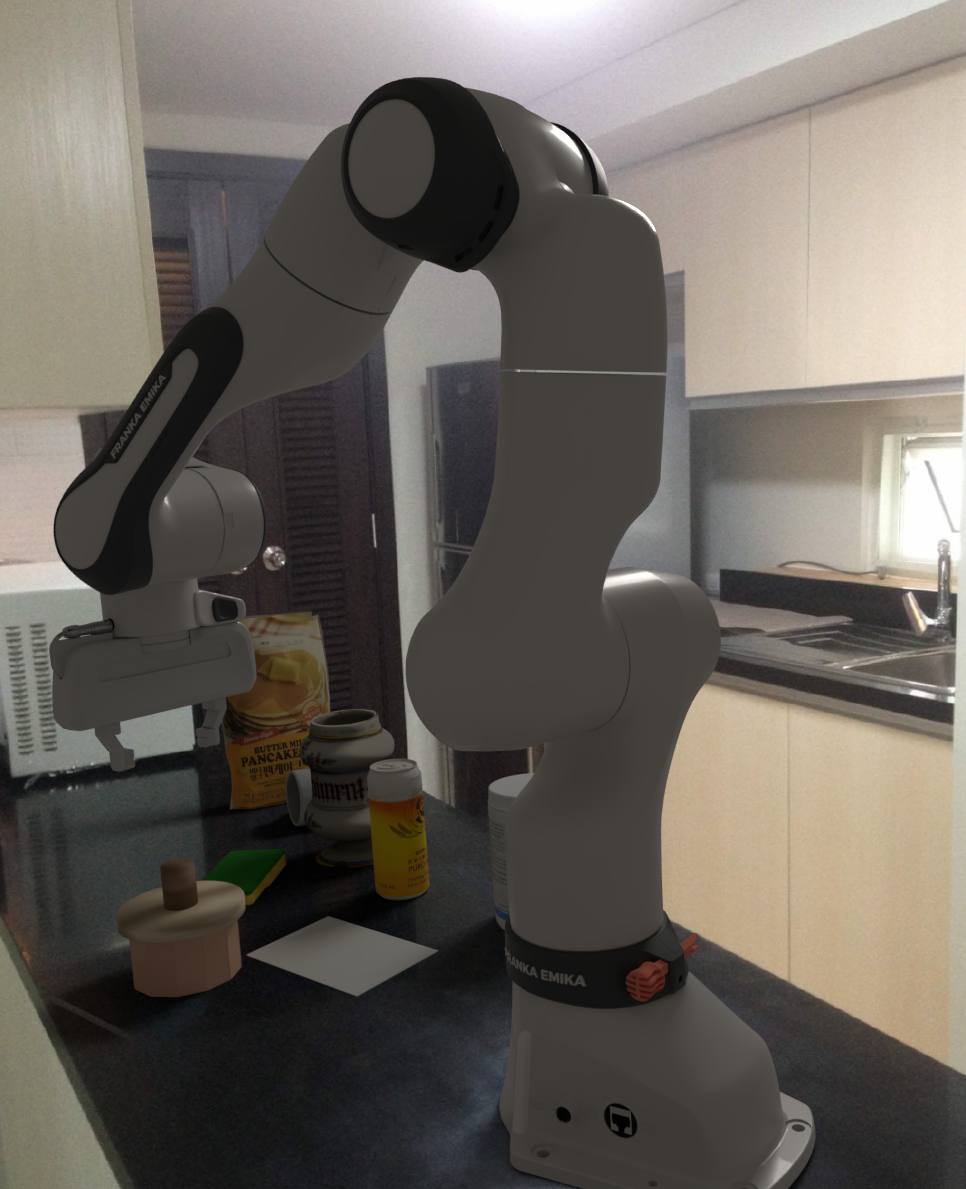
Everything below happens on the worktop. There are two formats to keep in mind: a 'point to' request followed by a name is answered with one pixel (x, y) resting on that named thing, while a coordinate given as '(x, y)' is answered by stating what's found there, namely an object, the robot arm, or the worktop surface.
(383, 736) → the apothecary jar
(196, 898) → the lid
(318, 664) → the pancake mix bag
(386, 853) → the beer can
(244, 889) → the dish sponge
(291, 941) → the mat
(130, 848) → the worktop surface
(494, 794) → the supplement tub
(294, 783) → the ceramic mug
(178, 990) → the bowl
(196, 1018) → the worktop surface
